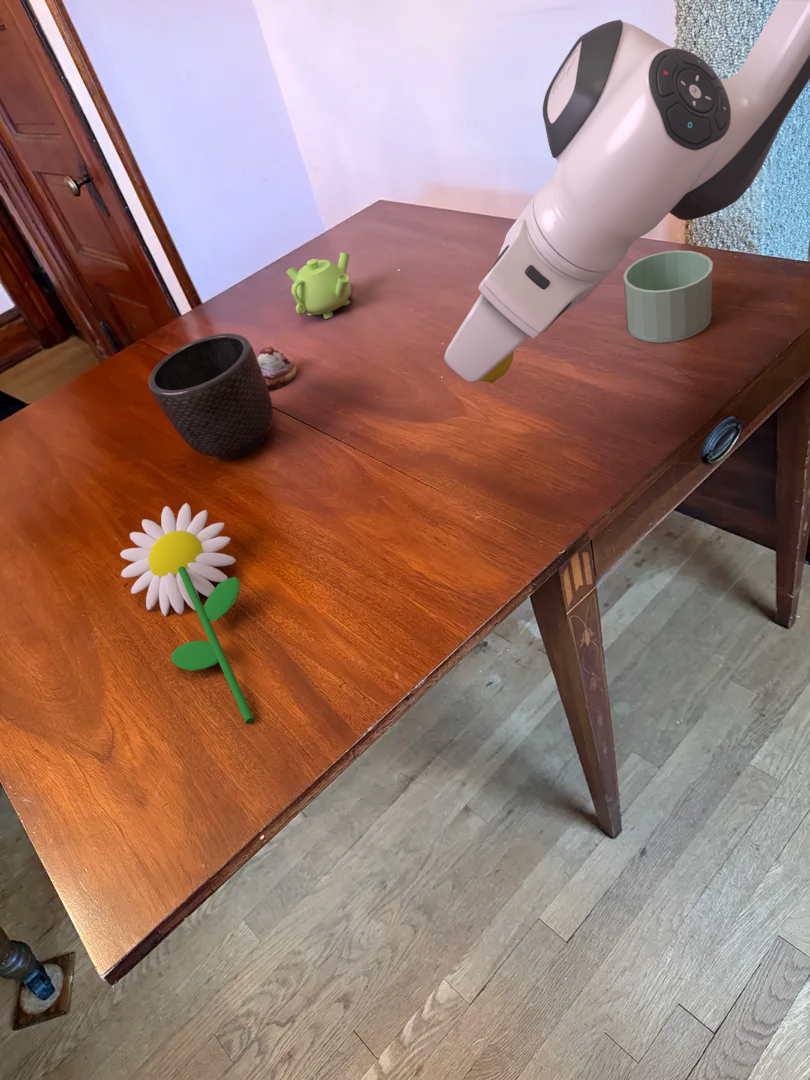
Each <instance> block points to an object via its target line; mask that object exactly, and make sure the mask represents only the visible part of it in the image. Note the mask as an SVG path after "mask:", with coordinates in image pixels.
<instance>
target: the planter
mask: <svg viewBox="0 0 810 1080" xmlns="http://www.w3.org/2000/svg"><path fill="white" fill-rule="evenodd" d="M257 358H258V357H257V356H256V353H255V351H254V347H253V346H252V344H251V343H250V341H249V339H248V338H246V337H245V336H243V335H241V334H236V333H230V332H228V333H218V334H213V335H212V334H211V335H208V336H205V337H201V338H198V339H195V340H193V341H191V342H189V343H186V344H184V345H182V346H181V347H179V348H177V349H175V350H173V351H172V352H171V353H169V354H168V355H166V356H165V357H163V358H162V359H161V360H160V361H159V362H158V363H157V364H156V365H155V367H154V368H153V369H152V371H151V372H150V374H149V376H148V382H147V385H148V388H149V390H150V392H151V394H152V396H153V397H154V399H155V400H156V402H157V404H158V406H159V407H160V408H161V410H162V411H163V413H164V414H165V416H166V417H167V419H168V421H169V422H170V423H171V425H172V426H173V428H174V429H175V431H176V432H177V433H178V435H179V436H180V437H181V438H182V440H183V441H184V442H185V443H186V444H187V445H188V446H189V447H190V448H191V449H193V450H194V451H196V452H197V453H199V454H201V455H204V456H208V457H214V458H217V459H220V460H226V461H227V460H235V459H238V458H242V457H244V456H246V455H248V454H250V453H252V452H254V451H255V450H256V449H257V448H259V447H260V446H261V444H263V442H264V440H265V439H266V436H267V432H268V431H269V428H270V426H271V424H272V421H273V417H274V415H273V414H274V409H273V408H274V407H273V401H272V398H271V397H272V396H271V393H270V390H268V387H267V384H266V381H265V378H264V376H263V373H262V370H261V368H260V365H259V363H258V360H257Z"/></svg>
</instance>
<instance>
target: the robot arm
mask: <svg viewBox="0 0 810 1080" xmlns="http://www.w3.org/2000/svg"><path fill="white" fill-rule="evenodd" d="M809 81H810V0H778V1H777V3H776V5H775V7H774V9H773V10H772V12H771V14H770V16H769V18H768V20H767V21H766V23H765V25H764V27H763V29H762V30H761V32H760V34H759V36H758V38H757V39H756V41H755V42H754V44H753V46H752V47H751V50H750V52H749V54H748V55H747V57H746V59H745V61H743V64H742V66H741V67H740V69H739V71H738V72H736V73H735V74H734V75H732V76H730V77H729V78H725V79H723V78H720V77H719V76H718V74H717V73H716V72H715V70H714V69H713V68H712V67H711V66H710V65H709V64H708V63H707V62H706V61H705V60H704V59H702V58H701V57H700V56H698V55H697V54H695V53H693V52H691V51H689V50H685V49H682V48H678V47H671V46H670V45H668V44H667V43H665V42H664V41H662V40H660V39H658V38H656V37H655V36H653V35H651V34H650V33H648V32H647V31H645V30H643V29H642V28H640V27H638V26H637V25H635V24H631V23H628V22H625V21H622V20H621V19H615V20H611V21H608V22H605V23H603V24H600V25H598V26H596V27H594V28H592V29H591V30H589V31H587V32H586V33H584V34H582V35H580V37H578V39H577V40H576V42H575V43H574V44H573V46H572V48H571V49H569V52H568V54H567V55H566V56H565V58H564V60H563V61H562V63H561V64H560V66H559V68H558V69H557V71H556V73H555V74H554V76H553V78H552V80H551V82H550V83H549V85H548V88H547V90H546V92H545V94H544V99H543V104H542V118H543V122H544V127H545V133H546V138H547V142H548V147H549V151H550V154H551V157H552V158H553V159H555V160H556V162H557V166H556V169H555V173H554V174H553V176H552V177H551V178H550V180H549V181H548V182H547V183H545V184H544V185H543V186H542V187H540V189H538V191H537V192H536V193H535V195H534V196H533V197H532V199H531V200H530V201H529V202H528V204H527V205H526V207H525V208H524V209H523V210H522V212H521V214H520V215H519V216H518V217H517V219H516V220H515V221H514V223H513V224H512V226H511V227H510V228H509V230H508V231H507V233H506V235H505V238H504V242H503V244H502V246H501V248H500V250H499V253H498V256H497V258H496V260H495V261H494V262H493V265H492V266H491V268H490V269H488V271H487V273H486V274H485V275H484V277H483V279H482V280H481V282H480V283H479V285H478V286H477V287H478V291H479V292H480V295H479V296H478V298H477V299H476V301H475V303H473V305H472V307H471V308H470V310H469V312H468V314H466V317H465V318H464V320H463V321H462V323H461V324H460V327H459V328H458V329H457V331H456V332H455V335H454V336H453V338H452V339H451V342H450V343H449V345H448V346H447V348H446V350H445V352H444V362H445V363H446V364H447V365H448V367H449V368H450V369H451V370H452V371H454V372H455V373H456V374H457V375H458V376H459V377H460V378H462V379H464V381H466V382H467V383H470V384H474V383H477V382H480V381H479V380H480V379H482V378H483V377H484V376H486V375H487V374H488V373H489V372H490V371H491V370H493V369H494V368H495V367H496V366H497V365H498V364H500V363H501V362H502V361H503V360H504V359H505V358H507V357H508V356H509V355H510V354H511V353H512V352H513V353H514V352H515V351H516V350H517V349H518V348H519V347H520V346H521V345H522V344H523V343H524V342H526V340H528V338H532V339H534V340H536V339H539V337H541V336H542V335H543V334H544V332H546V331H547V330H548V329H549V328H550V327H551V326H552V324H553V323H555V321H556V320H557V319H558V318H560V317H561V316H562V315H563V314H564V313H566V312H568V311H570V310H571V309H573V308H574V307H576V306H578V305H579V304H581V303H583V302H584V301H585V300H586V299H587V298H588V297H589V296H590V295H591V294H592V293H593V292H594V291H595V289H597V288H598V286H599V285H600V284H601V283H603V281H604V280H605V279H606V278H608V277H609V275H610V274H611V273H613V271H615V269H616V268H617V267H618V266H619V265H620V264H621V262H622V261H623V260H624V259H625V256H626V255H627V253H628V251H629V249H630V248H631V246H632V244H634V242H635V241H637V240H638V239H640V238H641V237H643V236H645V235H647V234H649V233H650V232H652V230H654V229H655V228H656V227H657V226H658V225H659V224H660V223H661V222H662V221H663V220H664V219H665V218H666V217H667V215H668V214H670V215H672V216H674V217H675V218H676V219H678V220H681V221H692V220H695V219H700V218H703V217H707V216H709V215H713V214H715V213H717V212H718V213H719V212H720V211H722V210H724V209H726V208H728V207H729V206H731V205H733V204H734V203H736V202H737V201H738V200H739V199H741V197H742V196H743V195H744V194H745V193H746V192H747V190H748V189H749V188H750V187H751V185H752V184H753V182H754V181H755V179H756V178H757V176H758V174H759V173H760V171H761V169H762V166H763V165H764V163H765V162H766V159H767V157H768V155H769V153H770V151H771V148H772V147H773V144H774V142H775V141H776V138H777V135H778V134H779V132H780V130H781V128H782V126H783V124H784V122H785V121H786V118H787V117H788V115H789V113H790V112H791V110H792V108H793V107H794V106H795V103H796V102H797V100H798V99H799V97H800V96H801V94H802V92H803V91H804V89H805V87H806V86H807V84H808V82H809Z"/></svg>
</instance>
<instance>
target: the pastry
mask: <svg viewBox="0 0 810 1080" xmlns="http://www.w3.org/2000/svg"><path fill="white" fill-rule="evenodd" d="M259 353H260V355H258V357H256V358H257V360H258V363H259V365H260V368H261V370H262V373H263V376H264V378H265V381H266V384H267V387H268V390H269V391H273V390H276V389H278V388H281V387H282V386H285V385H286V384H288V383H290V382H291V381H292V380H293V379H294V378H295V377H296V376H297V366H296V365H295V364H294V363H293V362H291V360H289V359H288V357H286V355H285V354H284V353H283V352H282V353H281V352H280V351H279V350H278V349H275V347H273V346H271V345H270V346H265V347H263V348H262V349H261V350H260V351H259Z"/></svg>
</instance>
